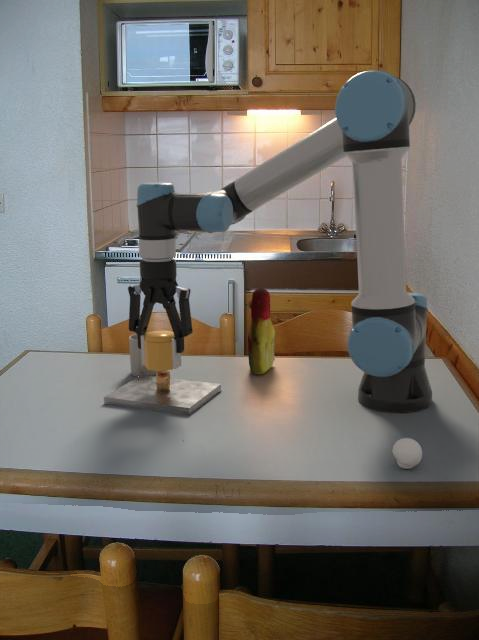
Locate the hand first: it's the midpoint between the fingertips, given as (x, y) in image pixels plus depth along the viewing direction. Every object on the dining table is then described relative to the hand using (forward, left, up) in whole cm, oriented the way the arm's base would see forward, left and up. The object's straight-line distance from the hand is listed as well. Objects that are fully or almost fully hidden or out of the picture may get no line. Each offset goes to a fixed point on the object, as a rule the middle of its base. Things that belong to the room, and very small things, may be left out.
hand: (161, 365), depth 158 cm
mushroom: (-55, +18, -7) cm, 59 cm away
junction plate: (0, 0, -7) cm, 7 cm away
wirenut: (0, 0, 0) cm, 0 cm away
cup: (+12, -13, -7) cm, 19 cm away
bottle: (-13, -25, -7) cm, 29 cm away
